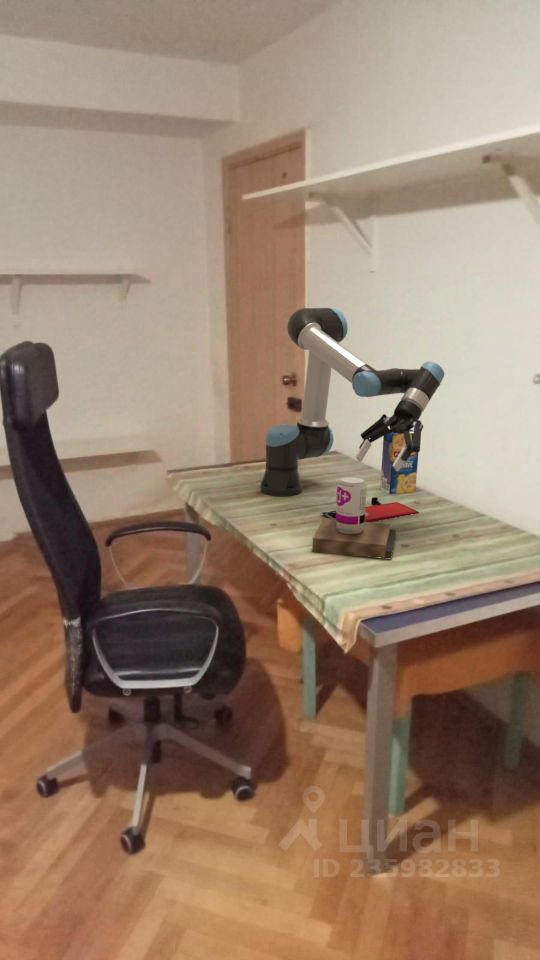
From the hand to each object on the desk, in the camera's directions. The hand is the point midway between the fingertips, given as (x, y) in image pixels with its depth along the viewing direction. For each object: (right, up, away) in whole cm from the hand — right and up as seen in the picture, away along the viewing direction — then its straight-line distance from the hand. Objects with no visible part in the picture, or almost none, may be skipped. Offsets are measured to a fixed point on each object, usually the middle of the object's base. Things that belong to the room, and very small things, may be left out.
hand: (376, 463), depth 193 cm
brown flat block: (-7, -23, -1) cm, 24 cm away
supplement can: (-8, -19, -2) cm, 21 cm away
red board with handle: (+2, -16, +26) cm, 31 cm away
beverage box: (+16, -9, +53) cm, 56 cm away
